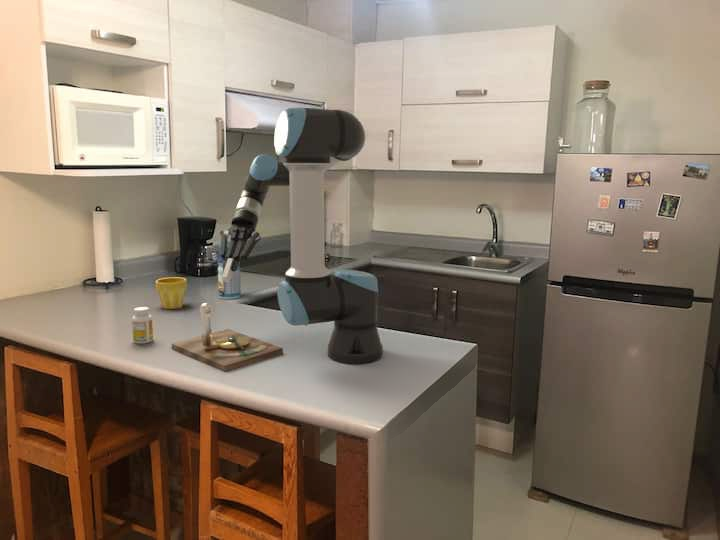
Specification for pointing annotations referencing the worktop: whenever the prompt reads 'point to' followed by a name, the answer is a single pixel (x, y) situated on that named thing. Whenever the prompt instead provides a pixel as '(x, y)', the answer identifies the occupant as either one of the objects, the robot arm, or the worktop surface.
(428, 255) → the worktop surface
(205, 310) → the dial
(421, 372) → the worktop surface
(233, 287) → the beverage bottle
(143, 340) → the supplement bottle
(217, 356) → the gauge board
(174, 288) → the plant pot
